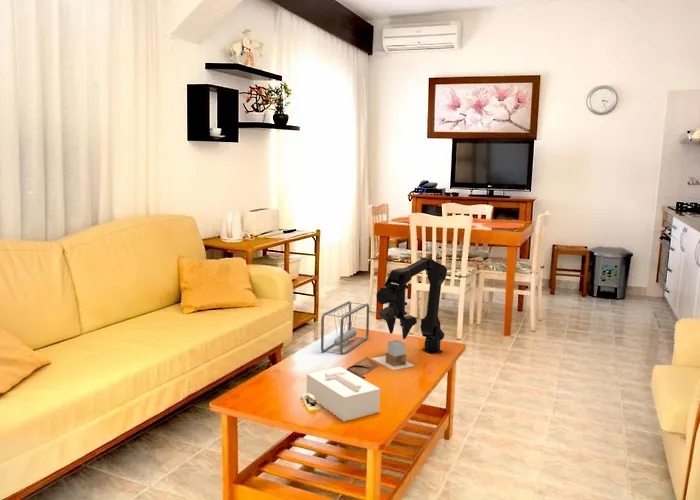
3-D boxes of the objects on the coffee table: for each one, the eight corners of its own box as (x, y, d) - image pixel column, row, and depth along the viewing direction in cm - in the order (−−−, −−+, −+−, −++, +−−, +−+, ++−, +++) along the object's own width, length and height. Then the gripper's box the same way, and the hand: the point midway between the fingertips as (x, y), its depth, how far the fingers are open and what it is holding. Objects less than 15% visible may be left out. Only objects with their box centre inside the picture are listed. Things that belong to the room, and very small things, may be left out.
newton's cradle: (341, 357, 262) (342, 317, 260) (320, 353, 267) (320, 314, 264) (368, 338, 289) (369, 302, 287) (348, 335, 294) (349, 300, 291)
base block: (397, 360, 257) (397, 350, 256) (405, 364, 252) (406, 355, 251) (385, 362, 254) (385, 353, 253) (393, 366, 249) (394, 357, 248)
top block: (397, 351, 255) (397, 340, 255) (404, 354, 251) (404, 343, 250) (387, 353, 253) (388, 341, 252) (394, 356, 249) (395, 345, 248)
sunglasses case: (364, 379, 236) (356, 364, 237) (350, 385, 239) (342, 370, 240) (383, 366, 252) (376, 351, 252) (370, 371, 255) (363, 357, 256)
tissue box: (340, 388, 227) (340, 360, 226) (379, 412, 207) (380, 382, 205) (306, 396, 219) (306, 367, 218) (343, 422, 199) (344, 390, 197)
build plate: (392, 356, 264) (392, 354, 264) (414, 367, 251) (415, 365, 250) (371, 360, 258) (371, 358, 258) (393, 372, 245) (393, 369, 245)
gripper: (369, 297, 256) (369, 333, 258) (396, 307, 240) (395, 345, 243) (391, 294, 262) (390, 329, 264) (418, 304, 246) (417, 340, 249)
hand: (397, 336), depth 255 cm, fingers open, 9 cm apart
